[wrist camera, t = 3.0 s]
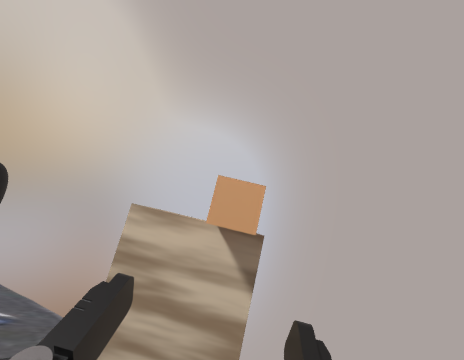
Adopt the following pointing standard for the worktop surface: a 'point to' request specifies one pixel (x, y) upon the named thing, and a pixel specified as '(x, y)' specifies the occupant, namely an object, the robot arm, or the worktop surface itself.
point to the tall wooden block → (183, 288)
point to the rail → (236, 205)
